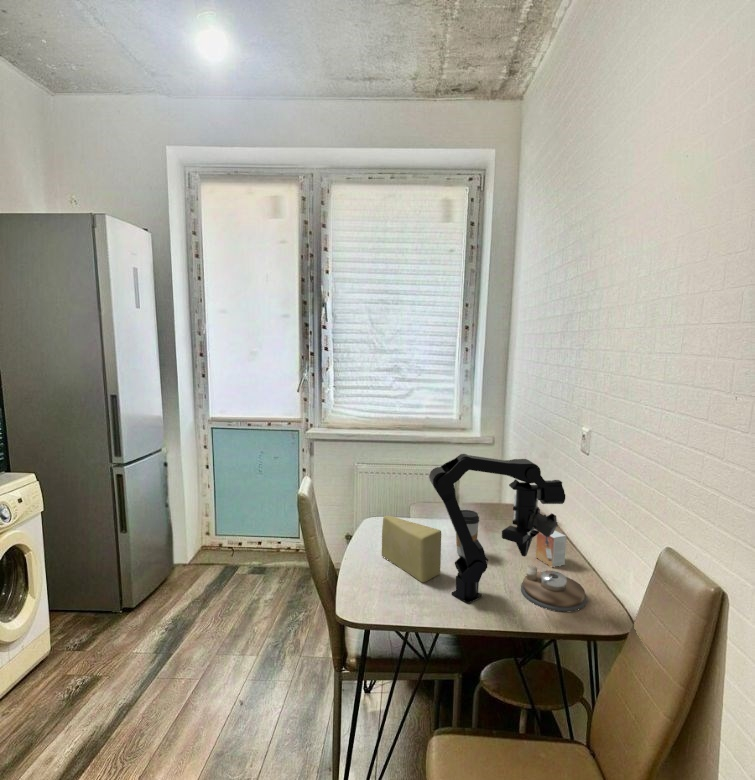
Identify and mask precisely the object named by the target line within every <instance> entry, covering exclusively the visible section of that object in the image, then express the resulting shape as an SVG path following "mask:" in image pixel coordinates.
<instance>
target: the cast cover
mask: <svg viewBox="0 0 755 780" xmlns="http://www.w3.org/2000/svg"><path fill="white" fill-rule="evenodd" d="M541 572H542V573H541V586H542V587H543V588H544V589H546V590H548V591H551V592H564V591H565V590H566V580H567V578H566V577H567V576H565V575H564V574H563V573H561V572H558V571H556V570H544V571H541Z"/></svg>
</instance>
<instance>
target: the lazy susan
mask: <svg viewBox="0 0 755 780" xmlns="http://www.w3.org/2000/svg"><path fill="white" fill-rule="evenodd" d="M542 572H543V571H538V567H537V566H535V565H533V564H532V565H531V564H530V565H527V566H526V575H525V576H524V577H523V580H522V582H523V589H524V591H525V592H526V593H527V594H528V595H529V596H530V597H532V598H533V599H535V600H537V601H539V602H541V603H544V604H547V605H551V606H557V607H574V606H578V605H580V604H581V603H583V601H584V599H585V595H586V590H585V589H584V587H583V586H582V585H581V584H580V583H579V582H577V581H576V580H574V579H573V578H571V577H568V576H566V578H567V580H566V590H565V591H564V592H551V591H548V590H546V589H544V588H543V587H542V586H541V573H542Z"/></svg>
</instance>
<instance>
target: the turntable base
mask: <svg viewBox="0 0 755 780" xmlns="http://www.w3.org/2000/svg"><path fill="white" fill-rule="evenodd" d="M520 591H521V592H520V593H521V595H523V597H524V598H525V599H526V600H527V601H528V602H530V603H532V604H533V603H534V605H535V606H537V605H538V606H537V607H539V606H540V608H542V607H543V608H542V609H545V608H547V609H546V610H548V609H551V610H550V611H552V610H555V611H554V612H558V611H563V612H562V613H568V612H567V611H574V612H576V611H575V610H578V609H581V608H582V609H584V608H585V607H584V606H587V595H586V594H585V599H584V601H583V603H581V604H580V605H578V606H574V607H557V606H551V605H547V604H544V603H541V602H539V601H537V600H535V599H533V598H532V597H530V596H529V595H528V594H527V593H526V592H525V591H524V589H523V581H522V582H521V583H520ZM583 607H584V608H583ZM582 609H581V610H582ZM578 611H579V610H578Z"/></svg>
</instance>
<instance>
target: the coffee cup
mask: <svg viewBox="0 0 755 780" xmlns="http://www.w3.org/2000/svg"><path fill="white" fill-rule="evenodd" d="M460 510H461V512H462V515H463V517H464V519H465V522H466V524H467V527H468V529H469V532H470V534H471V536H472V539H473V541H476V540H477V539H478V536H479V522H480V516H479V515H478V514H479V512H477V511H474V510H471V509H460ZM455 537H456V538H455V540H456V553H457V555H458V557H459V558H460V557H461V556H462V554H461V549H460V541H459V539H458V536H457V534H456V533H455Z"/></svg>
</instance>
